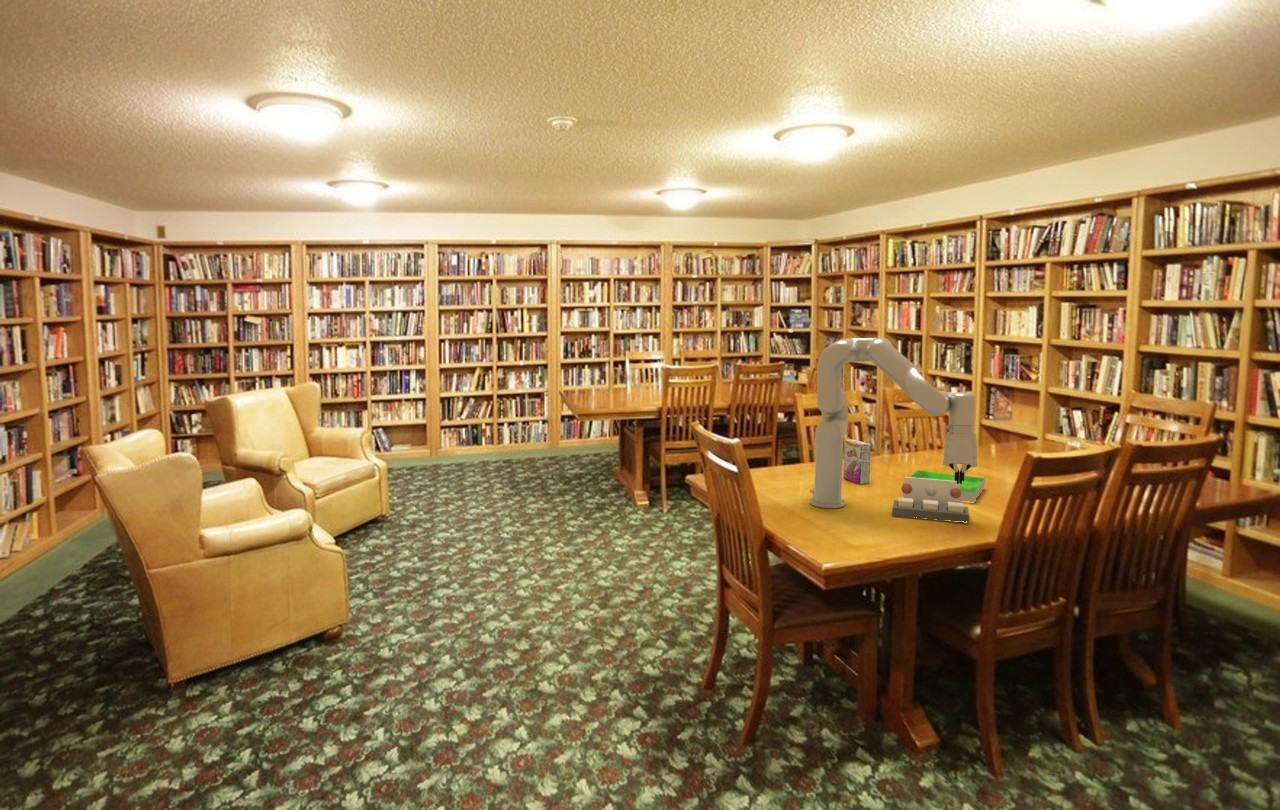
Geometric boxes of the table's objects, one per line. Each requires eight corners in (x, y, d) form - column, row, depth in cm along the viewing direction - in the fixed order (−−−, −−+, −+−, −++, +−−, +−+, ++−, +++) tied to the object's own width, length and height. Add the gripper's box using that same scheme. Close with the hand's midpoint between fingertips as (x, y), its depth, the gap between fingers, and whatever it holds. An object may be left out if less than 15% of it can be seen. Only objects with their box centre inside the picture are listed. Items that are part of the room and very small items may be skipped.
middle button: (922, 511, 249) (922, 503, 248) (922, 507, 253) (923, 499, 253) (937, 513, 247) (938, 504, 246) (937, 509, 251) (938, 500, 251)
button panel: (892, 516, 250) (893, 484, 249) (894, 505, 262) (895, 476, 261) (968, 523, 241) (970, 491, 240) (966, 512, 254) (968, 482, 252)
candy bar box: (842, 478, 303) (843, 439, 300) (852, 477, 304) (853, 438, 302) (859, 484, 292) (861, 444, 290) (869, 483, 294) (871, 443, 292)
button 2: (947, 514, 246) (948, 505, 245) (947, 510, 250) (948, 501, 250) (963, 515, 244) (964, 506, 244) (962, 511, 248) (963, 503, 248)
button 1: (897, 509, 252) (898, 500, 251) (898, 505, 256) (898, 497, 256) (912, 510, 250) (912, 502, 249) (912, 506, 254) (913, 498, 254)
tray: (983, 490, 285) (984, 478, 285) (973, 505, 265) (974, 492, 264) (917, 482, 299) (917, 470, 298) (902, 495, 278) (903, 482, 277)
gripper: (937, 430, 242) (935, 484, 245) (986, 432, 237) (984, 487, 239) (936, 426, 249) (935, 479, 252) (985, 428, 244) (982, 482, 246)
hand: (959, 483), depth 245 cm, fingers closed
